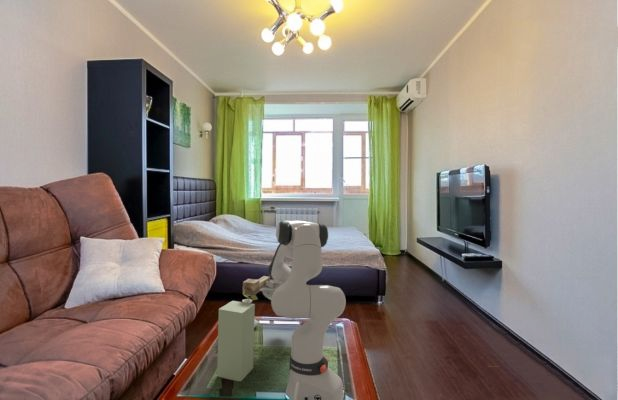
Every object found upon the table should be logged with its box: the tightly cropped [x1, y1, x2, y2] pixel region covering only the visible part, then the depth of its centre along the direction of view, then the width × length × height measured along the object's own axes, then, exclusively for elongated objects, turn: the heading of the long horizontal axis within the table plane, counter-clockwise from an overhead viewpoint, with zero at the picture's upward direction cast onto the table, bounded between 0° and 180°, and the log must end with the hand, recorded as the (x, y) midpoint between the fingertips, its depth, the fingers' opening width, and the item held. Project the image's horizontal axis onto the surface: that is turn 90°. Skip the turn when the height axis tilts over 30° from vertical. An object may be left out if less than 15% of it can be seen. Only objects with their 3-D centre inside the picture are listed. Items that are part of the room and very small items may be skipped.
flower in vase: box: [241, 293, 259, 329], centre depth 171 cm, size 13×11×25 cm
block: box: [242, 275, 271, 296], centre depth 147 cm, size 5×18×5 cm, turn 162°
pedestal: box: [216, 300, 256, 382], centre depth 131 cm, size 10×10×26 cm
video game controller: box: [299, 318, 309, 326], centre depth 170 cm, size 10×5×7 cm, turn 170°
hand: (261, 281), depth 150 cm, fingers closed on block, 3 cm apart
